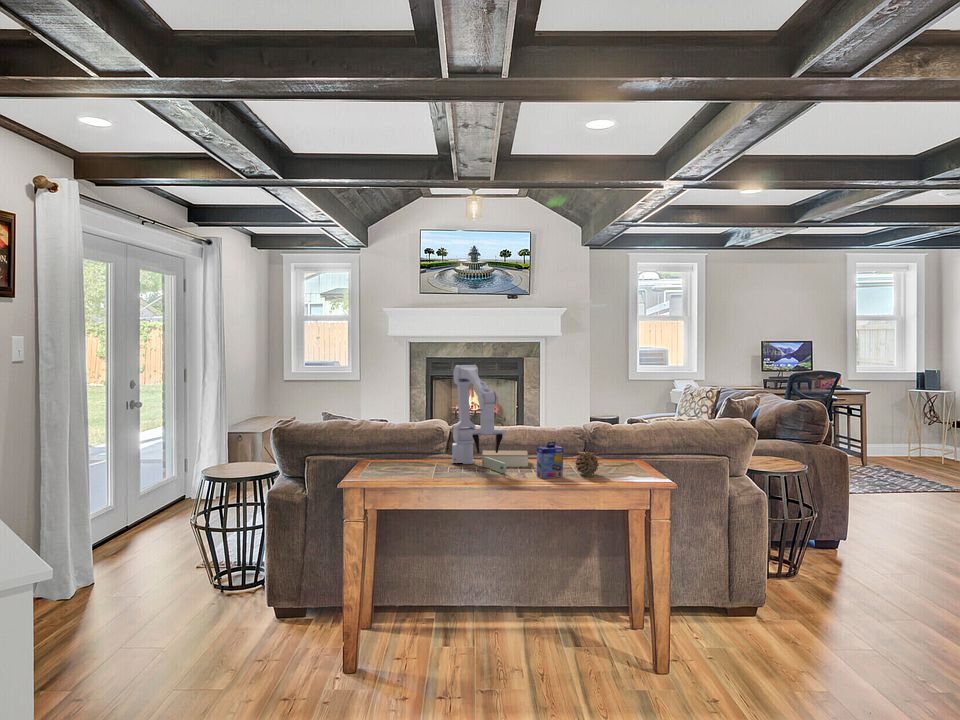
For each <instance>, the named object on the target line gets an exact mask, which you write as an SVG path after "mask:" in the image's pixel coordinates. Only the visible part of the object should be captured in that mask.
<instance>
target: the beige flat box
mask: <svg viewBox="0 0 960 720" xmlns="http://www.w3.org/2000/svg"><path fill="white" fill-rule="evenodd" d="M528 454H529V453H528V450H498V453H496V451H495V450H488V449H487V450H486V449H485V450H482V453H481V461H482V462H481V467H484V466H483V457H488V458H492V459H495V460H498V461H501V462H504V463H506V468H507V467H508V468H509V467H511V468H512V467H516V468H520V466H522V467H523V466H528V467H529V455H528ZM523 468H524V467H523Z"/></svg>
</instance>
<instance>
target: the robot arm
mask: <svg viewBox="0 0 960 720" xmlns="http://www.w3.org/2000/svg"><path fill="white" fill-rule="evenodd" d="M452 372H453V383H454V384H455V385H456V389H457V404H458V422H456V423H455V424H454V425H453V430H452V431H453V432H452V439H453V443H452V445H451V446H452V448H451V450H452V452H451V454H452V455H451V460H452V461H451V462H452V463H463V464H462V465H474V463H475V459H474V444H475V448H476V452H477V454H480V445H479V444H480V437H479V436H495V451H496V453H498V451H499V447H500V444H501V441H502V440H503V436H506V430H505V429H495V405H496V404H497V399H498V397H497V393H496V391H495V390H492V389H490V388H489V386H488V385H487V383H486V382H485V381H484V380H481V378H480V376H479V368H478V366H477V365H476V364H462V365H461V364H460V365H458V364H456V365H455V366H454V368H453V371H452ZM470 384H472V385H473V387H472V389H473V391H474V393H475V394H476V396H477V402H478V409H479V410H480V412H479V413H480V429H477V427H476V424H475V423H474V422H472V421H471V415H470V397H469V395H470V394H469V386H470Z"/></svg>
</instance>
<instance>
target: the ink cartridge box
mask: <svg viewBox="0 0 960 720" xmlns="http://www.w3.org/2000/svg"><path fill="white" fill-rule="evenodd" d="M563 467H564V447H562V446H560V445H556V441H549V442H547V443H546V446H545V445H544V446H543V445H542V446H537V447H536V477H538V478H539V479H542V480H544V479H557V478H556V477H559V478H563V476H564V475H563V474H564V468H563Z"/></svg>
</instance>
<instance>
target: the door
mask: <svg viewBox="0 0 960 720" xmlns="http://www.w3.org/2000/svg"><path fill="white" fill-rule="evenodd" d="M482 467H484V468H487V469H489V470H493V471H494V472H495V471H496V472H498V473H501V474H507V467H506V463H504V462H501V461H498V460H495V459H492V458H488V457H483V466H482Z"/></svg>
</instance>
